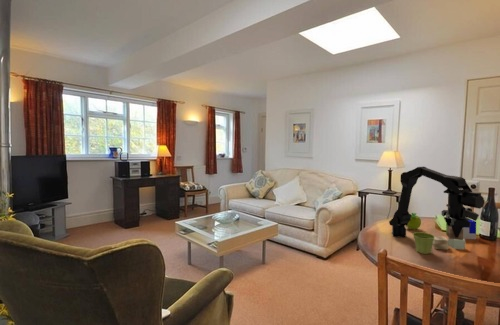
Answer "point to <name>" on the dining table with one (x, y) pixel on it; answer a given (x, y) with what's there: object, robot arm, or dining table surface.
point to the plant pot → (423, 242)
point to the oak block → (440, 243)
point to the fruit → (414, 222)
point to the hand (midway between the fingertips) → (454, 235)
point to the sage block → (456, 243)
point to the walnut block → (451, 234)
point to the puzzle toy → (468, 230)
